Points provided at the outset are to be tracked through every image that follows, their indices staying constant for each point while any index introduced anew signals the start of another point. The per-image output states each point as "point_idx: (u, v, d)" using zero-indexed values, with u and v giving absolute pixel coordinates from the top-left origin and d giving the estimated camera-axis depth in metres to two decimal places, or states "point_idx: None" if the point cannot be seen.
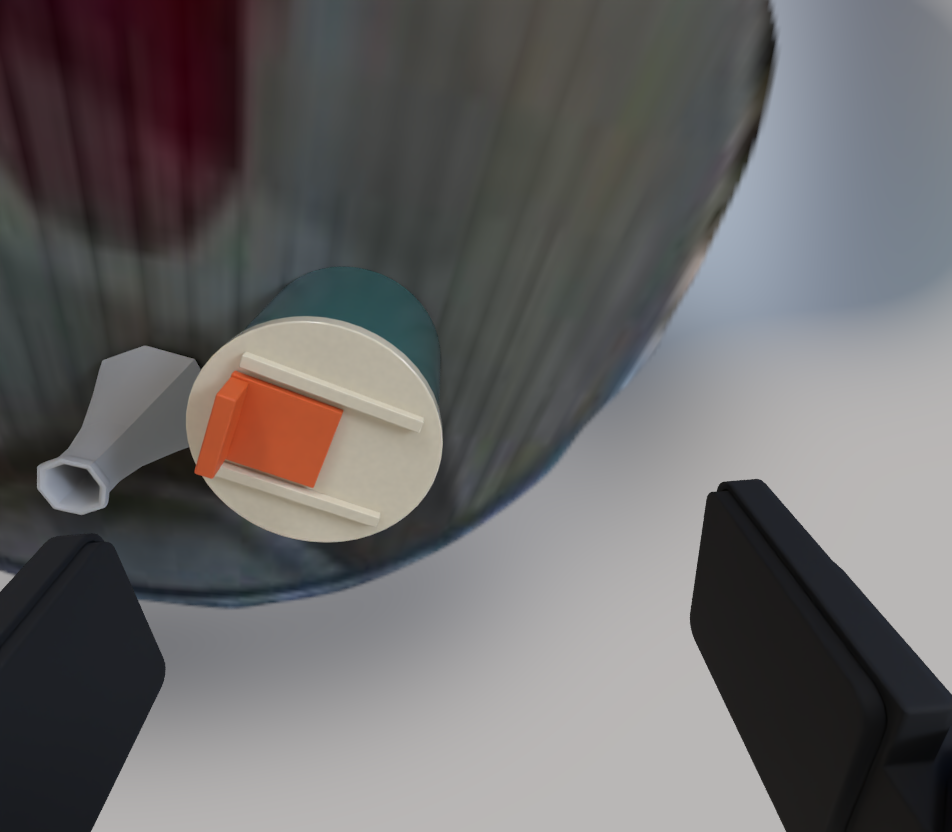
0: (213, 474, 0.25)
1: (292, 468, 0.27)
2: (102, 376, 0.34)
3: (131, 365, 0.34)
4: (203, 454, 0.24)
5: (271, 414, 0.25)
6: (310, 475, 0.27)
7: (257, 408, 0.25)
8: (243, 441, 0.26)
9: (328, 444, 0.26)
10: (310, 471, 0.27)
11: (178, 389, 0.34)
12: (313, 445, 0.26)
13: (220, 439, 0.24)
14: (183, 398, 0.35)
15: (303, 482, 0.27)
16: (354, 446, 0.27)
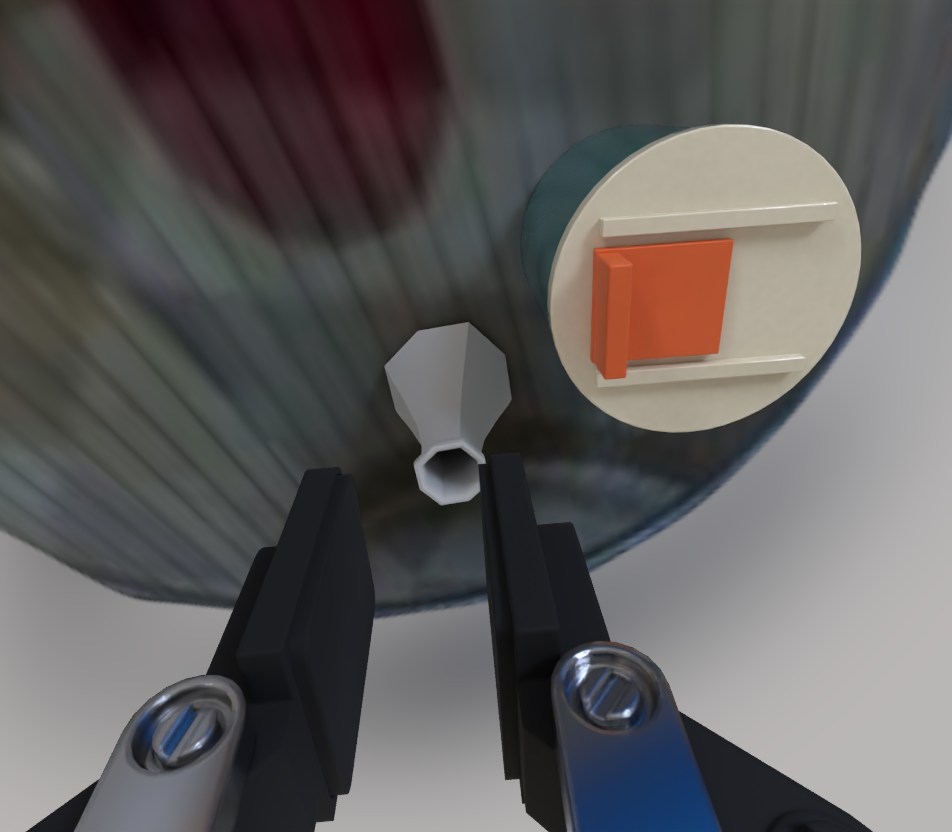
0: (626, 371, 0.20)
1: (689, 339, 0.22)
2: (397, 376, 0.32)
3: (418, 353, 0.32)
4: (610, 351, 0.20)
5: (652, 281, 0.21)
6: (712, 338, 0.22)
7: (634, 281, 0.21)
8: None
9: (725, 288, 0.21)
10: (711, 333, 0.22)
11: (473, 355, 0.31)
12: (707, 298, 0.21)
13: (625, 322, 0.20)
14: (480, 361, 0.31)
15: (705, 351, 0.22)
16: (751, 280, 0.21)
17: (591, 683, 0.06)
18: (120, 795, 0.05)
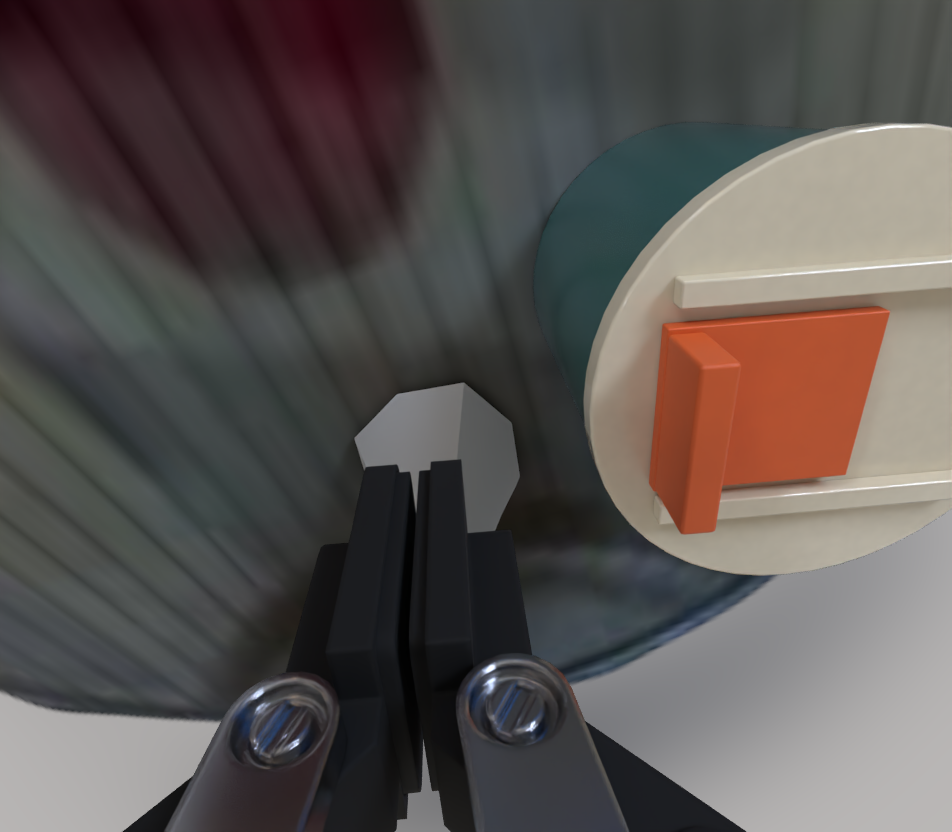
0: (716, 522, 0.13)
1: (804, 455, 0.14)
2: (369, 457, 0.24)
3: (398, 426, 0.24)
4: (694, 494, 0.12)
5: (754, 373, 0.13)
6: (839, 454, 0.14)
7: None
8: None
9: (868, 383, 0.13)
10: (838, 447, 0.14)
11: (470, 430, 0.24)
12: (838, 397, 0.13)
13: (721, 453, 0.12)
14: (479, 438, 0.24)
15: (827, 472, 0.14)
16: (904, 368, 0.14)
17: (496, 699, 0.06)
18: (226, 792, 0.05)
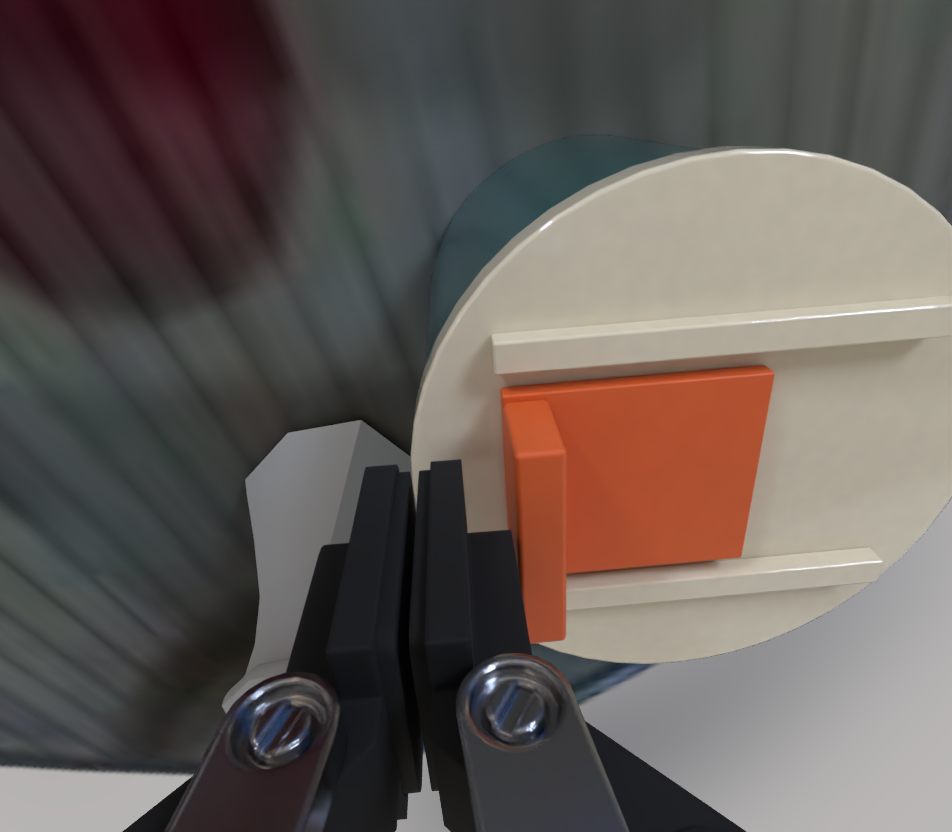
0: (564, 630, 0.10)
1: (689, 537, 0.12)
2: (254, 503, 0.22)
3: (283, 470, 0.22)
4: (530, 600, 0.10)
5: (616, 446, 0.11)
6: (730, 534, 0.12)
7: (581, 447, 0.11)
8: (573, 527, 0.12)
9: (757, 455, 0.11)
10: (729, 527, 0.12)
11: (362, 474, 0.21)
12: (723, 472, 0.11)
13: (557, 554, 0.10)
14: None
15: (718, 554, 0.12)
16: (787, 436, 0.11)
17: (496, 699, 0.06)
18: (227, 792, 0.05)
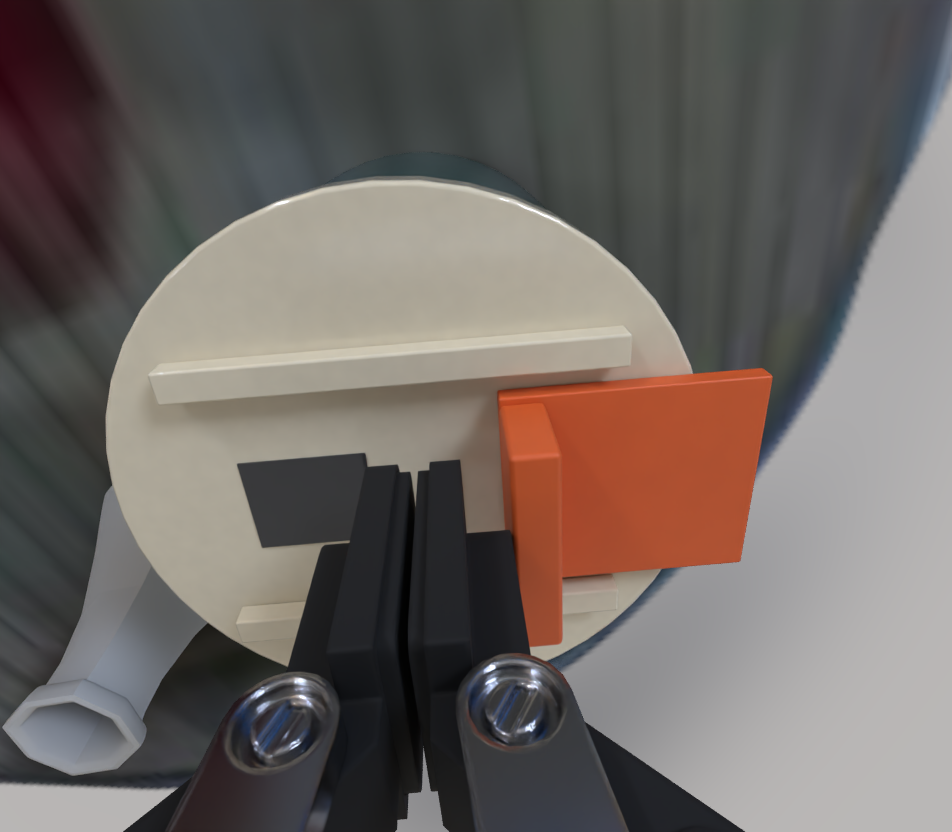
0: (561, 634, 0.10)
1: (687, 541, 0.12)
2: (104, 518, 0.22)
3: None
4: (526, 603, 0.10)
5: (613, 450, 0.11)
6: (729, 539, 0.12)
7: (578, 450, 0.11)
8: (570, 530, 0.12)
9: (755, 459, 0.11)
10: (727, 531, 0.12)
11: None
12: (720, 475, 0.11)
13: (553, 557, 0.10)
14: None
15: (717, 559, 0.12)
16: (496, 464, 0.11)
17: (496, 699, 0.06)
18: (227, 792, 0.05)
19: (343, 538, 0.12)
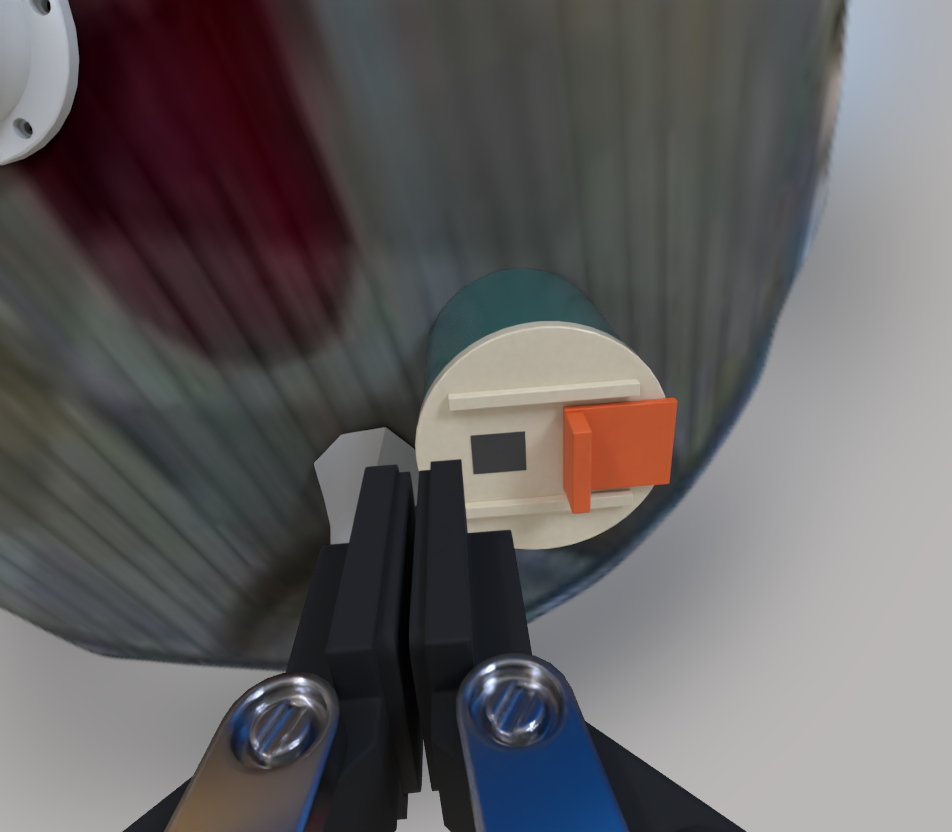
0: (589, 507, 0.25)
1: (644, 473, 0.27)
2: (321, 476, 0.37)
3: (340, 456, 0.36)
4: (576, 493, 0.25)
5: (611, 432, 0.25)
6: (663, 472, 0.27)
7: (596, 431, 0.25)
8: (592, 467, 0.26)
9: (672, 436, 0.26)
10: (662, 469, 0.26)
11: (386, 459, 0.36)
12: (658, 443, 0.26)
13: (587, 473, 0.24)
14: None
15: (658, 482, 0.27)
16: None
17: (496, 699, 0.06)
18: (226, 792, 0.05)
19: (510, 470, 0.27)
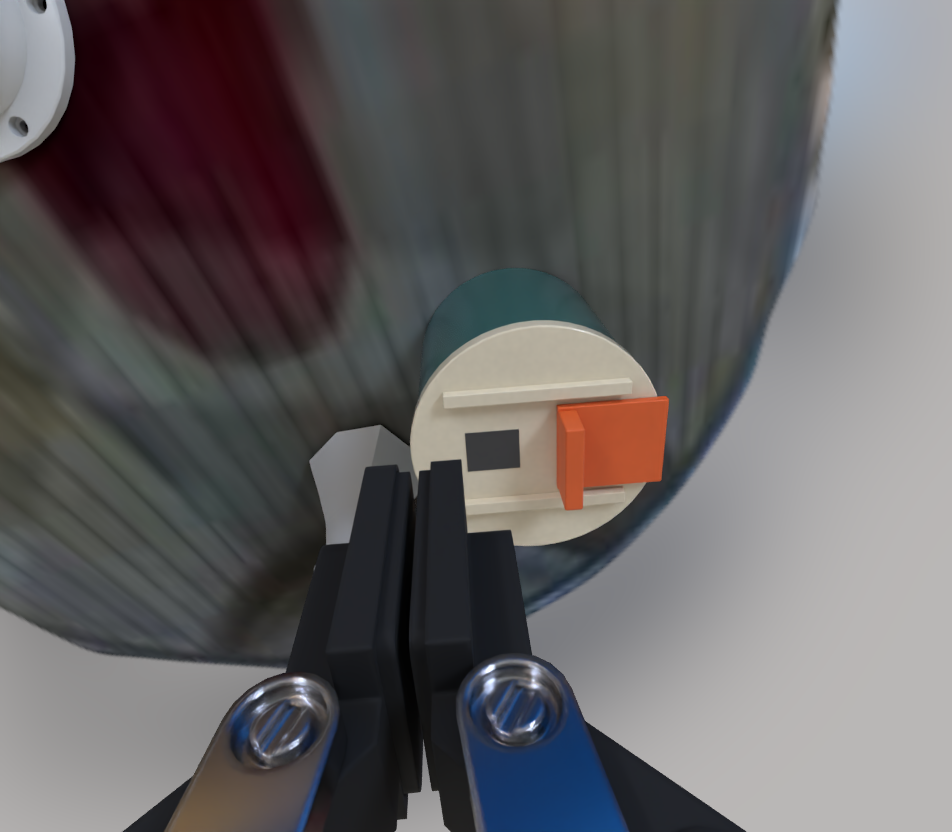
0: (582, 504, 0.25)
1: (636, 470, 0.27)
2: (317, 474, 0.37)
3: (335, 454, 0.37)
4: (569, 490, 0.25)
5: (604, 429, 0.26)
6: (655, 469, 0.27)
7: (589, 429, 0.26)
8: (585, 465, 0.27)
9: (664, 434, 0.26)
10: (654, 466, 0.27)
11: (382, 457, 0.36)
12: (650, 441, 0.26)
13: (580, 470, 0.25)
14: (388, 462, 0.36)
15: (650, 479, 0.27)
16: None
17: (496, 699, 0.06)
18: (226, 792, 0.05)
19: (504, 467, 0.27)
